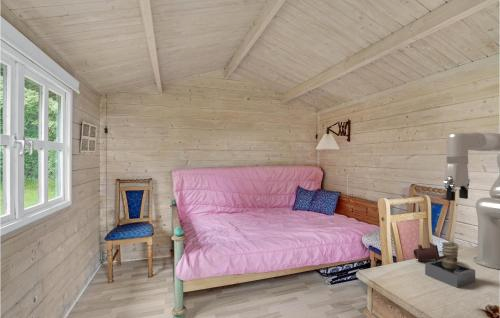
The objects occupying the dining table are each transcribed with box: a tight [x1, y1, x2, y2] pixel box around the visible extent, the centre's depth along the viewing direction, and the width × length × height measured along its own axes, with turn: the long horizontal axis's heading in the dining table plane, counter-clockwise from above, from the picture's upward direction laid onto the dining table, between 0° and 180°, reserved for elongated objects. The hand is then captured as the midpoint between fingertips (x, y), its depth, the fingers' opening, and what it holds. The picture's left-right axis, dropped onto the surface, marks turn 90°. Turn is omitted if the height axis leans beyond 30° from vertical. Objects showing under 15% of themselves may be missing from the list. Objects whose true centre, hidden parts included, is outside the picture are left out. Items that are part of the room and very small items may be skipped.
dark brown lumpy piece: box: [413, 240, 458, 262], centre depth 126 cm, size 6×17×10 cm, turn 78°
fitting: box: [424, 259, 476, 289], centre depth 110 cm, size 12×12×5 cm
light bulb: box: [441, 241, 459, 272], centre depth 110 cm, size 6×6×15 cm
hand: (457, 199), depth 116 cm, fingers open, 9 cm apart
